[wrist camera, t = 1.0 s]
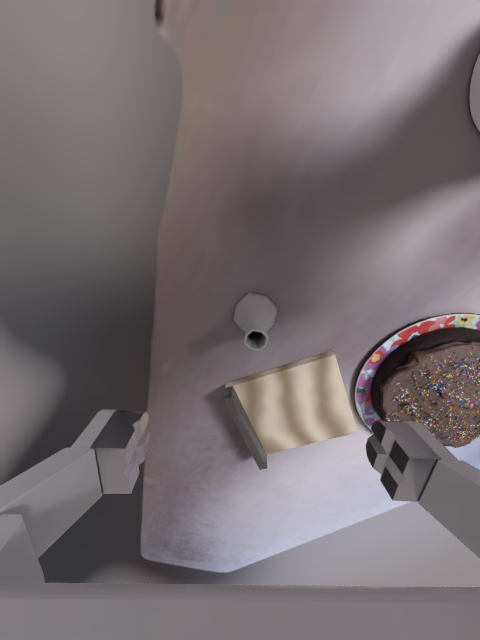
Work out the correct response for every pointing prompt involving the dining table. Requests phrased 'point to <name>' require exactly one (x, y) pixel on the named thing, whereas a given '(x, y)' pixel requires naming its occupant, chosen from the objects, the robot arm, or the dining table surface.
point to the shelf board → (290, 406)
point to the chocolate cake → (426, 378)
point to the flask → (255, 319)
